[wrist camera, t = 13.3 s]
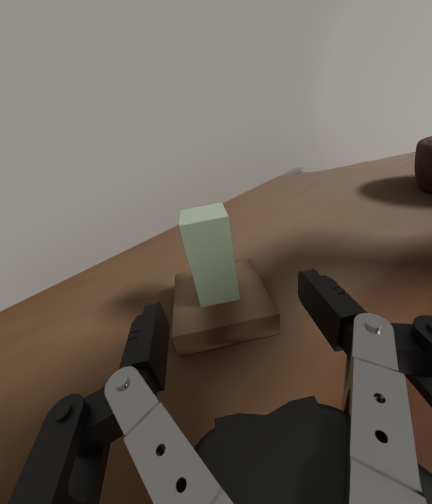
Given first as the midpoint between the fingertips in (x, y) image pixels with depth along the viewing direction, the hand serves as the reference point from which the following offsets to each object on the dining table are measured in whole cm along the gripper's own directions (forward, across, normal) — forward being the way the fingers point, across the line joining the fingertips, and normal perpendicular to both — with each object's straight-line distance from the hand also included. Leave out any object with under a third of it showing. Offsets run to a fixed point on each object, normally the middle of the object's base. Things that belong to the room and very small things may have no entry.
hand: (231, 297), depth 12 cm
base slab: (+11, +1, +12) cm, 16 cm away
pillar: (+11, +1, +8) cm, 14 cm away
